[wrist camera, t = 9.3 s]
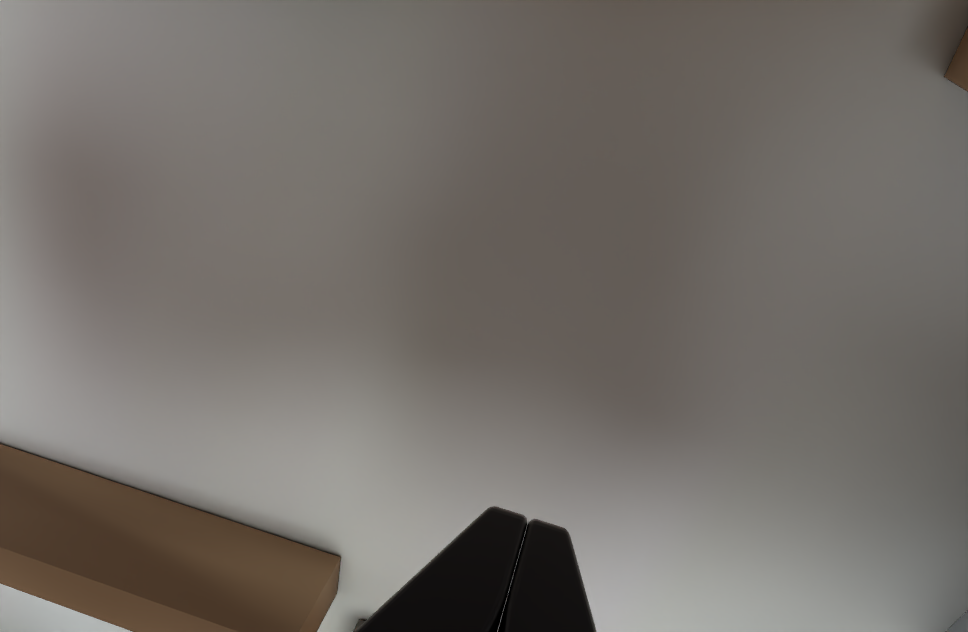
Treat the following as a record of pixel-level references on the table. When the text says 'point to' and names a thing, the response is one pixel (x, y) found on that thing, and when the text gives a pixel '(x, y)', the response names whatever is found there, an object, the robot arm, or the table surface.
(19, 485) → the finger box
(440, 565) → the robot arm
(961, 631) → the slate block
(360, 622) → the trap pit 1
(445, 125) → the table surface
